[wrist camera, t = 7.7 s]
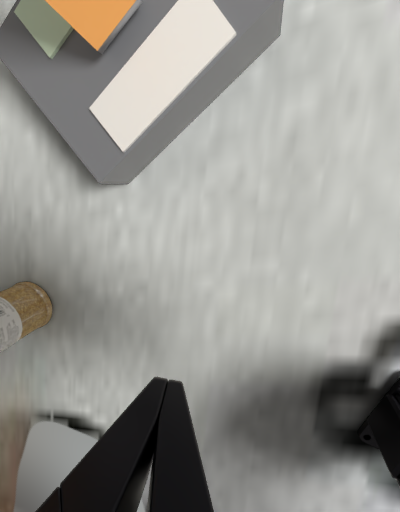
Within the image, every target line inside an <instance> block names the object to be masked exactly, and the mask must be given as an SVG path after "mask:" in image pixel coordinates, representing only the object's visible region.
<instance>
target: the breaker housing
mask: <svg viewBox="0 0 400 512" xmlns="http://www.w3.org/2000/svg"><path fill="white" fill-rule="evenodd" d="M141 1H142V3H141V5H140V6H139V7H138V9H137V10H136V11H135V12H134V14H133V15H132V16H131V18H130V19H129V20H128V21H127V23H126V24H125V25H124V27H123V28H122V29H121V30H120V32H119V33H118V34H117V36H116V37H115V38H114V39H113V41H112V42H111V43H110V45H109V46H108V47H107V48H106V50H105V51H104V52H103V54H101V53H100V52H98V51H97V50H96V49H95V48H94V47H93V46H92V45H91V44H90V43H88V42H87V41H86V40H85V39H84V38H83V37H82V36H81V35H80V34H79V33H78V32H77V31H76V30H75V29H74V28H73V27H72V26H71V25H70V24H69V23H68V22H67V21H66V20H65V19H64V18H63V17H62V16H61V15H60V14H59V13H57V12H56V11H55V10H54V9H53V8H52V7H51V6H50V5H49V4H48V3H47V2H46V1H45V0H17V1H16V2H15V4H14V6H13V7H12V9H11V11H10V12H9V14H8V16H7V17H6V19H5V21H4V22H3V24H2V26H1V27H0V59H1V60H2V61H3V63H4V64H5V65H6V67H7V68H8V69H9V70H10V72H11V73H12V74H13V75H14V77H15V78H16V79H17V80H18V82H19V83H20V84H21V85H22V87H23V88H24V89H25V91H26V92H27V93H28V94H29V96H30V97H31V98H32V99H33V101H34V102H35V103H36V104H37V106H38V107H39V108H40V109H41V111H42V112H43V113H44V114H45V116H46V117H47V118H48V120H49V121H50V122H51V123H52V125H53V126H54V127H55V128H56V130H57V131H58V132H59V133H60V135H61V136H62V137H63V138H64V140H65V141H66V142H67V144H68V145H69V146H70V147H71V149H72V150H73V151H74V152H75V154H76V155H77V156H78V157H79V159H80V160H81V161H82V162H83V164H84V165H85V166H86V168H87V169H88V170H89V171H90V173H91V174H92V175H93V176H94V178H95V179H96V180H97V181H98V183H99V184H129V183H130V182H131V181H132V180H133V179H134V178H135V177H136V176H137V175H138V174H139V173H140V172H141V171H142V170H143V169H144V168H145V167H146V166H147V165H148V164H149V163H150V162H151V161H152V160H153V159H154V158H156V157H157V156H158V155H159V154H160V153H161V152H162V151H163V150H164V149H165V148H166V147H167V146H168V145H169V144H170V143H171V142H172V141H173V140H174V139H175V138H176V137H177V136H178V135H179V134H180V133H181V132H182V131H183V130H184V129H185V128H186V127H187V126H188V125H189V124H190V123H191V122H192V121H193V120H194V119H195V118H196V117H197V116H198V115H199V114H200V113H201V112H202V111H203V110H204V109H206V108H207V107H208V106H209V105H210V104H211V103H212V102H213V101H214V100H215V99H216V98H217V97H218V96H219V95H220V94H221V93H222V92H223V91H224V90H225V89H226V88H227V87H228V86H229V85H230V84H231V83H232V82H233V81H234V80H235V79H236V78H237V77H238V76H239V75H240V74H241V73H242V72H243V71H244V70H245V69H246V68H247V67H248V66H249V65H250V64H251V63H252V62H253V61H254V60H255V59H257V58H258V57H259V56H260V55H261V54H262V53H263V52H264V51H265V50H266V49H267V48H268V47H269V46H270V45H271V44H272V43H273V42H274V41H275V40H276V39H277V38H278V37H279V36H280V32H281V22H282V13H283V3H284V0H141Z"/></svg>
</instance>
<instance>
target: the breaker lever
mask: <svg viewBox="0 0 400 512" xmlns="http://www.w3.org/2000/svg"><path fill="white" fill-rule="evenodd" d="M45 1H46V2H47V3H48V4H49V5H50V6H51V7H52V8H53V9H54V10H55V11H56V12H57V13H59V14H60V15H61V16H62V17H63V18H64V19H65V20H66V21H67V22H68V23H69V24H70V25H71V26H72V27H73V28H74V29H75V30H76V31H77V32H78V33H79V34H80V35H81V36H82V37H83V38H84V39H85V40H86V41H87V42H88V43H90V44H91V45H92V46H93V47H94V48H95V49H96V50H97V51H98V52H100V53H101V54H103V52H104V51H105V50H106V48H107V47H108V46H109V45H110V43H111V42H112V41H113V39H114V38H115V37H116V36H117V34H118V33H119V32H120V30H121V29H122V28H123V27H124V25H125V24H126V23H127V21H128V20H129V19H130V18H131V16H132V15H133V14H134V12H135V11H136V10H137V9H138V7H139V6H140V5H141V3H142V1H141V0H45Z"/></svg>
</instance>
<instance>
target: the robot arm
mask: <svg viewBox="0 0 400 512" xmlns="http://www.w3.org/2000/svg"><path fill="white" fill-rule="evenodd" d="M358 435H359V437H360V439H361V441H363V442H365V443H367V444H369V445H371V446H373V447H375V448H377V449H379V450H380V451H381V454H382V456H383V458H384V460H385V463H386V465H387V467H388V470H389V472H390V474H391V476H392V477H393V478H395V479H396V480H397V482H398V484H399V487H400V378H399V379H398V381H397V382H396V383H395V384H394V386H393V387H392V388H391V390H390V391H389V392H388V393H387V395H386V396H385V397H384V398H383V399H382V400H381V402H380V403H379V404H378V405H377V407H376V408H375V409H374V410H373V412H372V413H371V414H370V415H369V417H368V418H367V420H366V421H365V422H364V424H363V425H362V426H361V427H360V429H359V430H358ZM152 460H153V463H152ZM151 465H152V470H151V478H150V487H149V496H148V505H147V512H214V510H213V506H212V502H211V498H210V494H209V490H208V486H207V482H206V477H205V473H204V469H203V465H202V461H201V457H200V453H199V449H198V444H197V440H196V436H195V432H194V428H193V424H192V420H191V416H190V411H189V407H188V403H187V399H186V395H185V391H184V387H183V383H182V382H181V381H176V380H169V381H168V380H167V379H165V378H160V377H154V378H153V379H152V380H151V381H150V382H149V384H148V385H147V386H146V387H145V388H144V389H143V390H142V392H141V393H140V394H139V395H138V396H137V397H136V398H135V399H134V401H133V402H132V403H131V404H130V405H129V406H128V407H127V409H126V410H125V411H124V412H123V413H122V414H121V415H120V417H119V418H118V419H117V420H116V421H115V422H114V423H113V425H112V426H111V427H110V428H109V429H108V430H107V431H106V432H105V434H104V435H103V436H102V437H101V438H100V439H99V440H98V442H97V443H96V444H95V445H94V446H93V447H92V448H91V450H90V451H89V452H88V453H87V454H86V455H85V457H84V458H83V459H82V460H81V461H80V462H79V463H78V464H77V465H76V467H75V468H74V469H73V470H72V471H71V472H70V473H69V475H68V476H67V477H66V478H65V479H64V480H63V481H62V482H61V484H60V487H57V488H56V489H55V490H54V491H53V493H52V494H51V495H50V496H49V497H48V498H47V499H46V501H45V502H44V503H43V504H42V505H41V506H40V507H39V508H38V509H37V510H36V512H137V508H138V506H139V503H140V500H141V497H142V493H143V490H144V487H145V484H146V481H147V478H148V475H149V471H150V468H151Z"/></svg>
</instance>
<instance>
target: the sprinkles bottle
mask: <svg viewBox="0 0 400 512" xmlns="http://www.w3.org/2000/svg"><path fill="white" fill-rule="evenodd" d="M51 315H52V304H51V302H50V299H49V297H48V295H47V294H46V292H45V291H44V290H43V289H42V288H40V287H39V286H37V285H36V284H33V283H30V282H20V283H17V284H15V285H14V286H13V287H11V288H9V289H6V290H4V291H1V292H0V353H1V352H2V351H4V350H5V349H7V348H8V347H10V346H12V345H13V344H15V343H16V342H17V341H18V340H20V339H21V338H23V337H24V336H26V335H28V334H29V333H30V332H32V331H34V330H35V329H37V328H39V327H42V326H44V325H46V324H47V323H48V322H49V320H50V318H51Z"/></svg>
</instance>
